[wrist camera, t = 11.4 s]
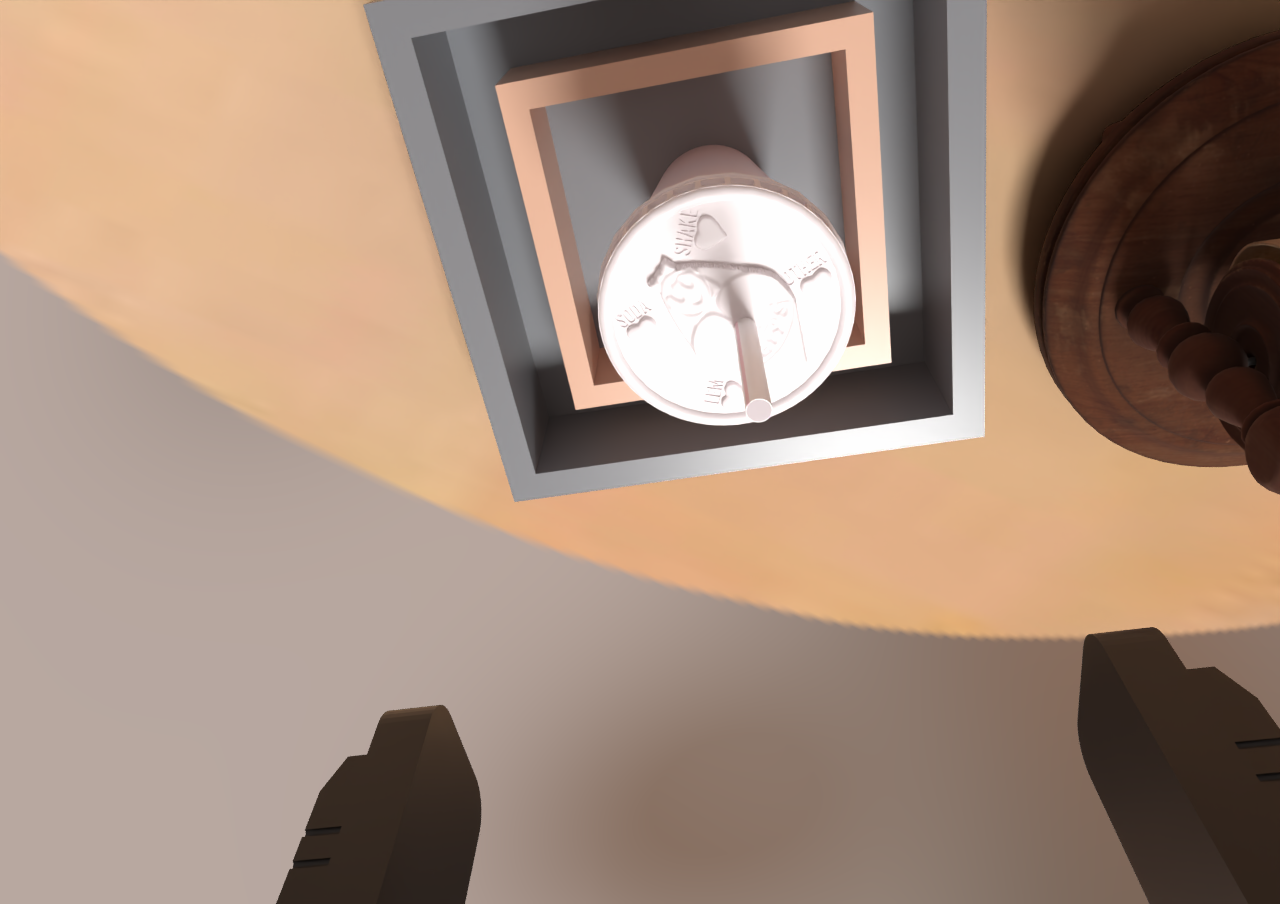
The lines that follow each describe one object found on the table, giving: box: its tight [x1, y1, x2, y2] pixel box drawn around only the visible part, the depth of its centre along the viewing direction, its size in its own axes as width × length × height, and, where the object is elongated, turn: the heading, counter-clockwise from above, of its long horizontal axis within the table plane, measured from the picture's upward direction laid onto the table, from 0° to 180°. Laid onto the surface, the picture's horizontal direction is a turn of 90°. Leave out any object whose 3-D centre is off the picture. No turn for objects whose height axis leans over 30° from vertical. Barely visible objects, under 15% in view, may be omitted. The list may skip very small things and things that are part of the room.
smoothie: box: [597, 145, 856, 425], centre depth 25 cm, size 6×6×14 cm
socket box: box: [364, 0, 987, 502], centre depth 30 cm, size 16×16×5 cm
